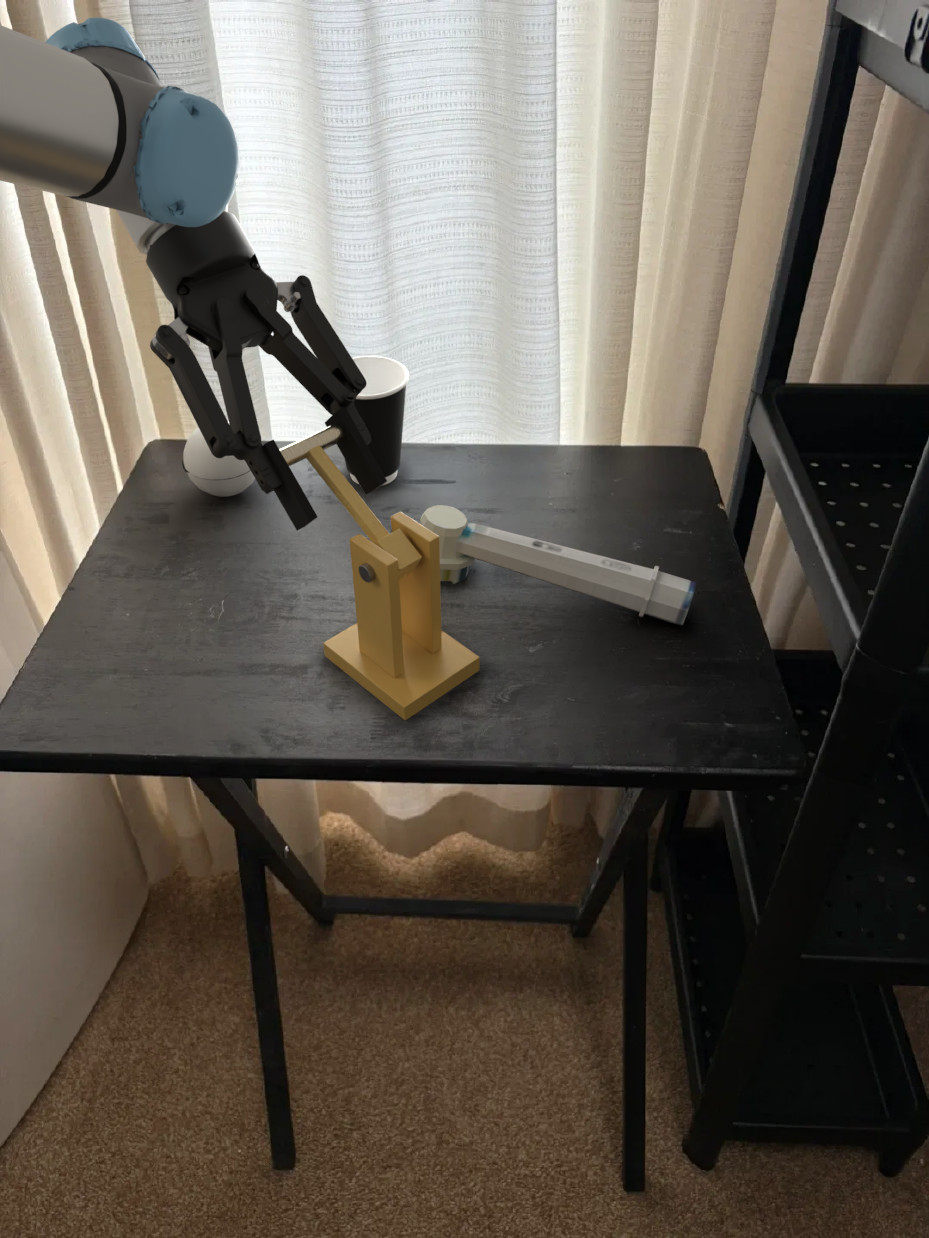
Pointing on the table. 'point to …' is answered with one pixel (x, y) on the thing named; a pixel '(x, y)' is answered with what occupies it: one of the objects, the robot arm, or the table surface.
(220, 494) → the white sphere
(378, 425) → the dixie cup
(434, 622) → the yellow lever stand
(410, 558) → the tap lever
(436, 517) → the white handheld electric wand
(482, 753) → the table surface
